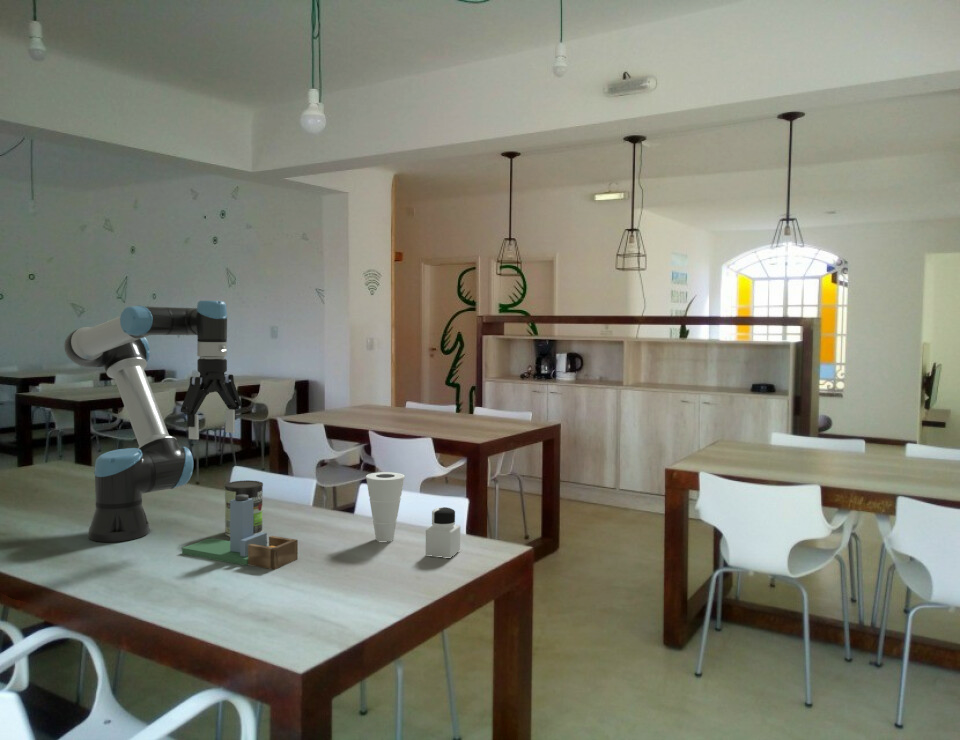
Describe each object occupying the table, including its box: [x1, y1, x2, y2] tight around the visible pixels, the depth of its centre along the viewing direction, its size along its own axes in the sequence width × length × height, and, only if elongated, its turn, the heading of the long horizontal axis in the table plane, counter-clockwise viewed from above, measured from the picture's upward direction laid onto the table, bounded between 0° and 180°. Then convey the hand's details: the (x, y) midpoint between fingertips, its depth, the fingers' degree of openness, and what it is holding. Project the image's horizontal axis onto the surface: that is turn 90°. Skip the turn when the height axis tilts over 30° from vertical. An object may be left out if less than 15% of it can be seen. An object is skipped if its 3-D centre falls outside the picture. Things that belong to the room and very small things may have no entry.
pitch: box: [181, 537, 249, 566], centre depth 189 cm, size 21×10×2 cm, turn 67°
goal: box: [247, 535, 299, 571], centre depth 184 cm, size 8×9×5 cm
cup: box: [365, 471, 406, 542], centre depth 204 cm, size 11×11×18 cm
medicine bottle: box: [425, 506, 461, 558], centre depth 193 cm, size 7×7×12 cm
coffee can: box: [224, 479, 264, 538], centre depth 208 cm, size 10×10×14 cm
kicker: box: [229, 494, 268, 557], centre depth 187 cm, size 7×8×14 cm
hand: (212, 435), depth 200 cm, fingers open, 13 cm apart
